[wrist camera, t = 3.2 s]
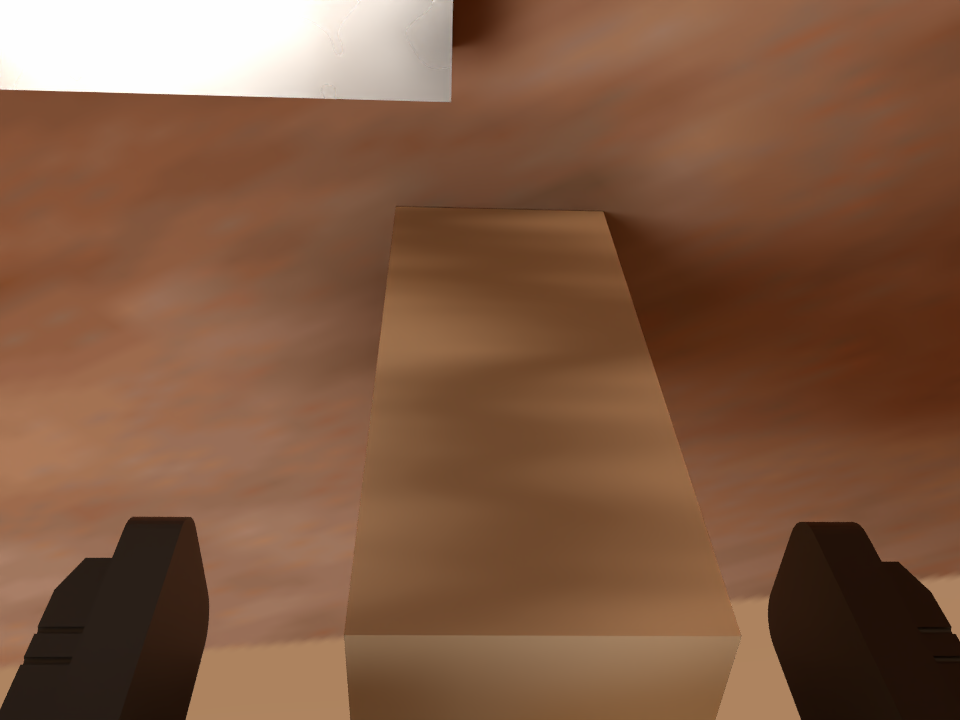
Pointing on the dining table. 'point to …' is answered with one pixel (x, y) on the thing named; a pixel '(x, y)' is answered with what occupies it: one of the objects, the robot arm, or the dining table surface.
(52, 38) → the square slotted board
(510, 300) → the wooden block
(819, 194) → the dining table surface
